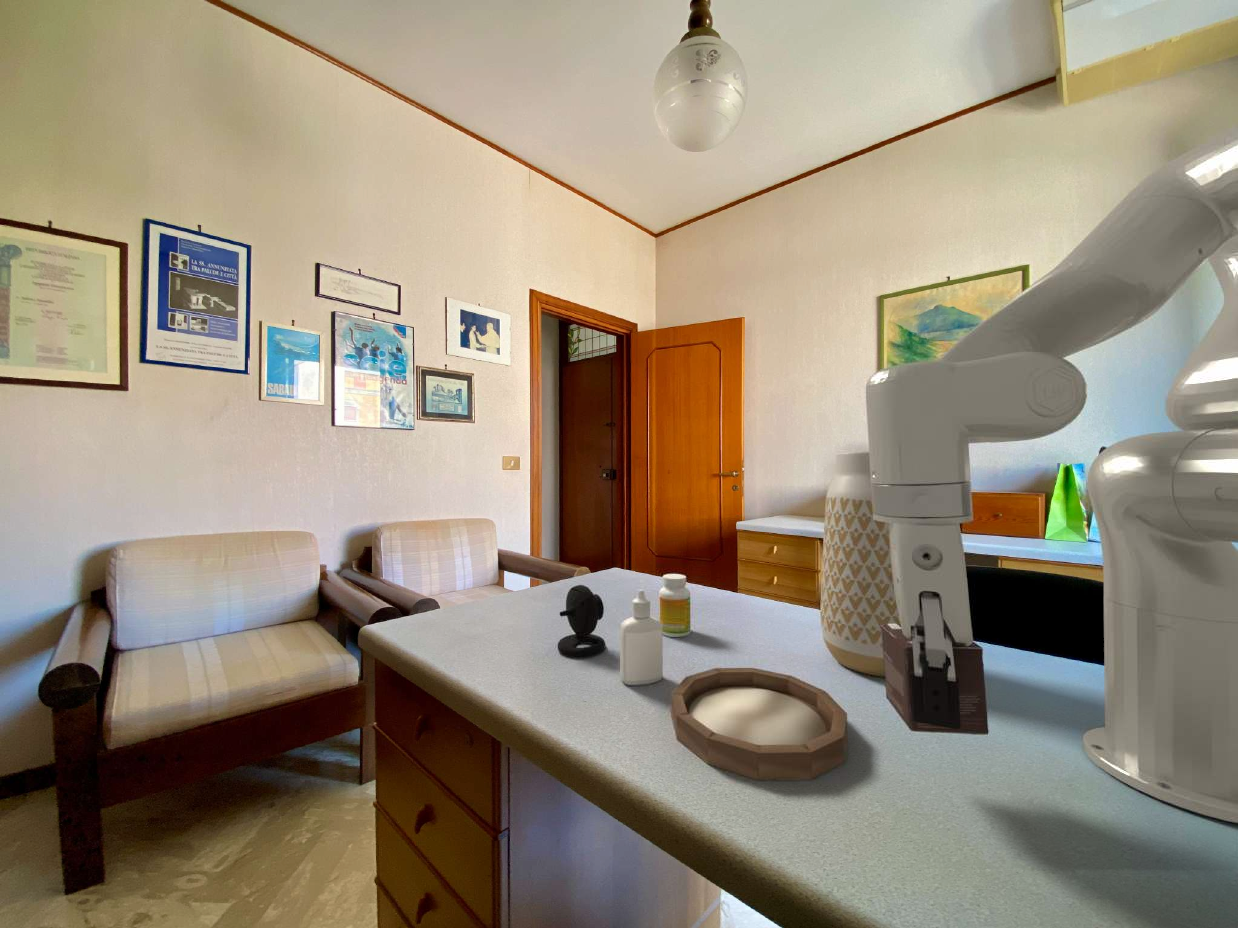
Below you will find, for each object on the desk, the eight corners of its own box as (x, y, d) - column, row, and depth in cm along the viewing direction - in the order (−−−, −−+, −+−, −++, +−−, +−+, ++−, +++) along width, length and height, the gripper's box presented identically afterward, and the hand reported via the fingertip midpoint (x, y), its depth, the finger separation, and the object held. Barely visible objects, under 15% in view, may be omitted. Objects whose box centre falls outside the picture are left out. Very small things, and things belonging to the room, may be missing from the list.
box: (991, 738, 38) (985, 648, 38) (909, 733, 39) (903, 646, 39) (954, 700, 44) (949, 622, 44) (884, 697, 45) (879, 622, 45)
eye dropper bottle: (660, 689, 60) (659, 595, 60) (617, 684, 61) (617, 593, 61) (664, 674, 64) (663, 587, 64) (624, 670, 66) (623, 585, 66)
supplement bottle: (692, 638, 78) (692, 579, 78) (660, 637, 78) (660, 579, 78) (688, 627, 84) (688, 572, 84) (658, 626, 84) (657, 572, 84)
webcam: (615, 651, 72) (614, 587, 73) (572, 663, 68) (572, 594, 68) (589, 636, 79) (589, 577, 79) (549, 646, 75) (549, 583, 75)
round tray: (850, 708, 55) (850, 687, 55) (838, 805, 39) (838, 775, 39) (703, 676, 64) (703, 657, 64) (646, 744, 48) (645, 719, 48)
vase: (908, 695, 58) (907, 449, 59) (803, 661, 69) (802, 452, 69) (941, 664, 67) (939, 451, 68) (844, 638, 78) (842, 454, 78)
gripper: (993, 514, 32) (1009, 770, 32) (957, 494, 48) (967, 668, 47) (870, 514, 36) (884, 744, 36) (873, 495, 51) (883, 657, 51)
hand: (931, 699), depth 42 cm, fingers closed on box, 7 cm apart
